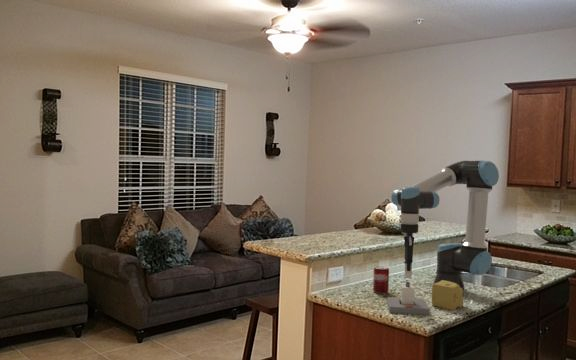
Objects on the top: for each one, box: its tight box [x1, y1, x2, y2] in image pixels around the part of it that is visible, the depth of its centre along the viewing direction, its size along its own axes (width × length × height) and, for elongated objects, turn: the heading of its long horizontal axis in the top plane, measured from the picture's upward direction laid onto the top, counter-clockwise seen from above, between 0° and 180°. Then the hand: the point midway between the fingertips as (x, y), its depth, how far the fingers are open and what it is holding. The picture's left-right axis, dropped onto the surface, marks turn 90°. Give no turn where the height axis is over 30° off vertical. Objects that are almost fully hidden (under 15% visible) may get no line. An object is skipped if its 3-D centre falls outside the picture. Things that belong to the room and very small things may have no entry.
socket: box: [386, 296, 430, 316], centre depth 221 cm, size 16×16×3 cm
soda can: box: [372, 265, 390, 295], centre depth 248 cm, size 7×7×12 cm
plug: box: [400, 281, 415, 305], centre depth 220 cm, size 5×5×11 cm
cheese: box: [431, 280, 464, 311], centre depth 226 cm, size 10×11×10 cm
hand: (407, 277), depth 220 cm, fingers closed
